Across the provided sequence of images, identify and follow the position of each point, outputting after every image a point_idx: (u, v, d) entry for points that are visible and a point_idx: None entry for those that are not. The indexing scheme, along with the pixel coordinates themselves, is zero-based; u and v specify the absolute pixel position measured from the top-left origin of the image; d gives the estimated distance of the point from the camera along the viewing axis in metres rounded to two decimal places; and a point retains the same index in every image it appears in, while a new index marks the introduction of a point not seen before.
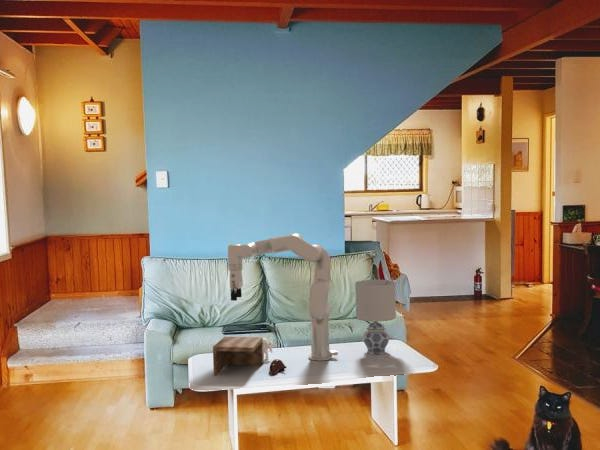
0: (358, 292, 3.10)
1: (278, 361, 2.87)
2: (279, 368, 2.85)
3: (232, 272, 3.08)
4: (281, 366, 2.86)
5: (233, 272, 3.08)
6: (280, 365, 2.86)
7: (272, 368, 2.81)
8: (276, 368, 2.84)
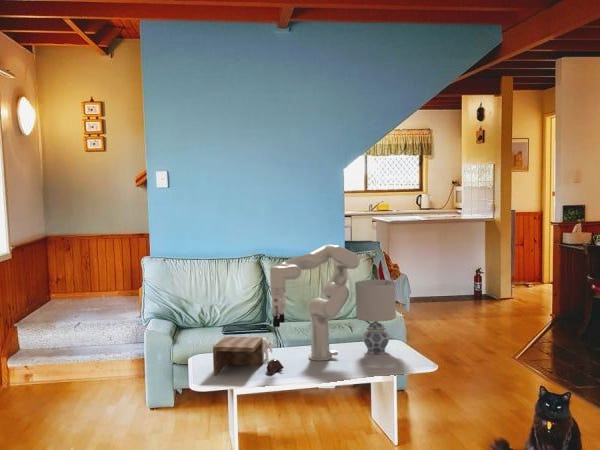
0: (358, 292, 3.10)
1: (275, 361, 2.87)
2: (276, 368, 2.85)
3: (275, 296, 2.86)
4: (278, 366, 2.86)
5: (276, 296, 2.86)
6: (277, 365, 2.86)
7: (269, 368, 2.81)
8: (273, 368, 2.83)
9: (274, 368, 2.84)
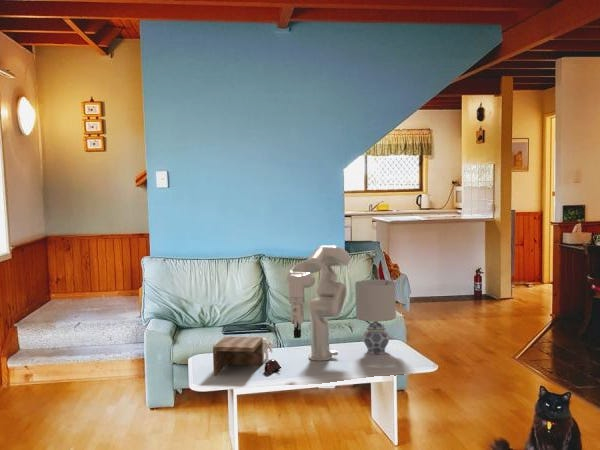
0: (358, 292, 3.10)
1: (273, 361, 2.87)
2: (274, 368, 2.84)
3: (294, 306, 2.78)
4: (276, 366, 2.86)
5: (295, 306, 2.78)
6: (275, 365, 2.86)
7: (267, 368, 2.81)
8: (271, 368, 2.83)
9: (272, 368, 2.84)
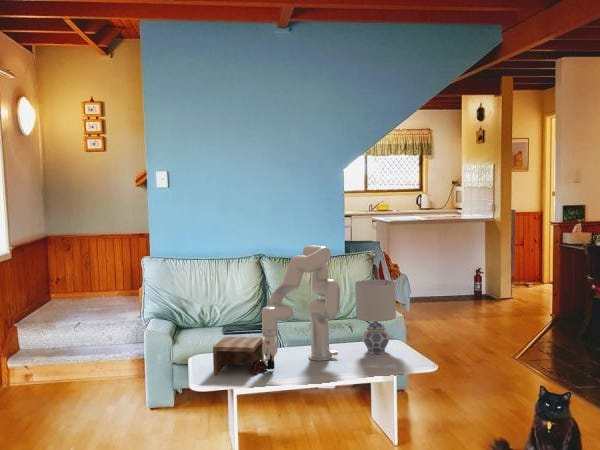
0: (358, 292, 3.10)
1: (260, 361, 2.87)
2: (260, 368, 2.85)
3: (267, 338, 2.81)
4: (263, 366, 2.86)
5: (268, 338, 2.81)
6: (262, 365, 2.86)
7: (252, 368, 2.82)
8: (257, 368, 2.84)
9: (258, 368, 2.84)
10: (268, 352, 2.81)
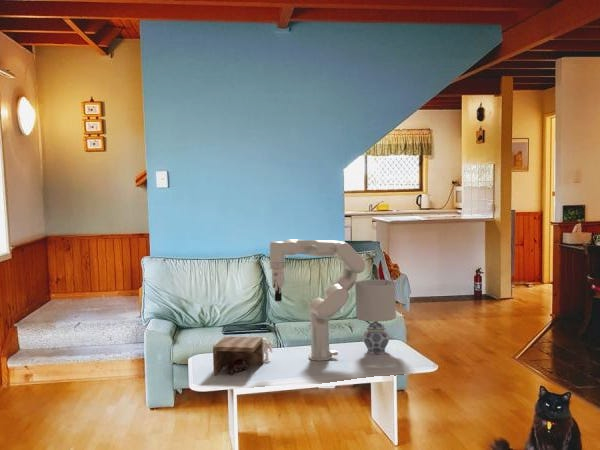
0: (358, 292, 3.10)
1: (240, 361, 2.88)
2: (239, 368, 2.86)
3: (275, 271, 2.94)
4: (242, 366, 2.87)
5: (276, 271, 2.94)
6: (241, 365, 2.87)
7: (231, 367, 2.84)
8: (236, 368, 2.85)
9: (237, 368, 2.86)
10: (276, 284, 2.94)
